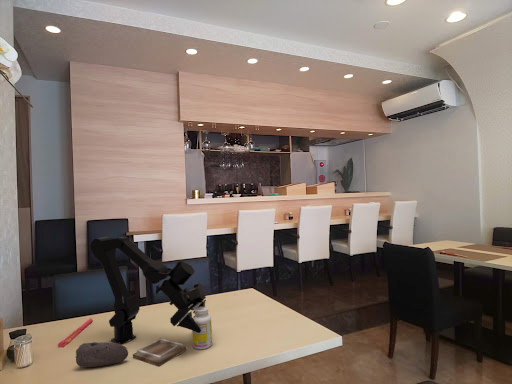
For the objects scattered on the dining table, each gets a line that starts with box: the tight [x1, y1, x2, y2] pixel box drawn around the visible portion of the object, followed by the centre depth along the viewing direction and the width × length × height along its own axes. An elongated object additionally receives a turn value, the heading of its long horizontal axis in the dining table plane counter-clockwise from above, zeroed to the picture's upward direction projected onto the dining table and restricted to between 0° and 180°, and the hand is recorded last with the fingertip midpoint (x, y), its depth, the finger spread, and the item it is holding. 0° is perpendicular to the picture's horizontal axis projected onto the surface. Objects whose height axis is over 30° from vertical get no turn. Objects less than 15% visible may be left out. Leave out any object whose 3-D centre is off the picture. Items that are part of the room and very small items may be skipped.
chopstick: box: [57, 317, 93, 348], centre depth 126 cm, size 24×2×5 cm
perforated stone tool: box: [75, 341, 129, 368], centre depth 101 cm, size 15×5×7 cm, turn 98°
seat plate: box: [132, 337, 187, 367], centre depth 107 cm, size 12×12×2 cm
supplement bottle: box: [191, 306, 213, 350], centre depth 112 cm, size 7×7×13 cm
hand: (205, 326), depth 112 cm, fingers open, 9 cm apart
